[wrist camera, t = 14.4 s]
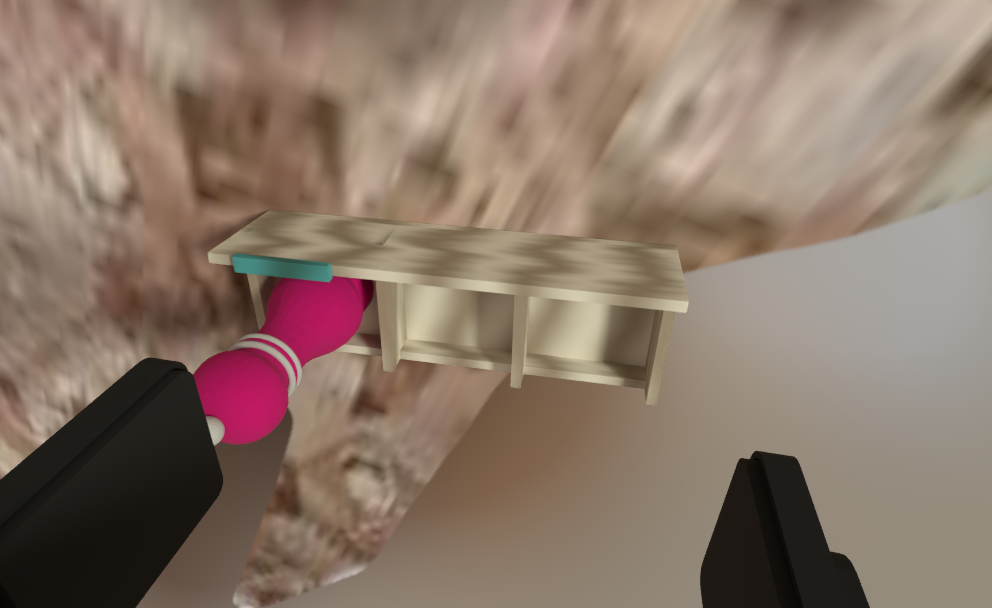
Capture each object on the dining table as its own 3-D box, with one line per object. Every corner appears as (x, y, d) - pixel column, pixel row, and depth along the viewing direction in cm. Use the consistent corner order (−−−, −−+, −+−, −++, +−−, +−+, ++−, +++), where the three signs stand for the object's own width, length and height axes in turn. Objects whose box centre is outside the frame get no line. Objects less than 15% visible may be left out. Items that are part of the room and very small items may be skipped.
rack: (290, 327, 55) (234, 388, 47) (269, 207, 49) (201, 253, 41) (652, 370, 50) (659, 446, 42) (676, 243, 45) (690, 303, 36)
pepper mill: (356, 332, 53) (232, 505, 36) (287, 286, 52) (125, 442, 35) (394, 278, 49) (277, 441, 32) (321, 227, 48) (160, 368, 31)
